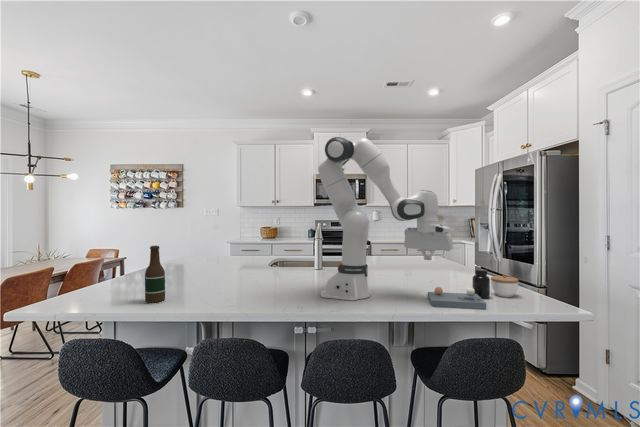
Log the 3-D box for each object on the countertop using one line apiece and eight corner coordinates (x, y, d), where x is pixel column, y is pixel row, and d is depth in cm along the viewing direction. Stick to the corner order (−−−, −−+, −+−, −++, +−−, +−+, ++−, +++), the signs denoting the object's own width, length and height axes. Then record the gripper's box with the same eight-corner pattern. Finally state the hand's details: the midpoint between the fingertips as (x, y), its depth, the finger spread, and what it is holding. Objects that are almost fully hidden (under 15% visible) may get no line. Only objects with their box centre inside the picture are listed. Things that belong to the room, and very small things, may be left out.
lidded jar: (492, 297, 142) (492, 276, 142) (489, 291, 152) (489, 271, 152) (520, 299, 138) (520, 277, 138) (516, 293, 148) (516, 273, 148)
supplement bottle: (492, 299, 138) (491, 271, 138) (474, 298, 139) (474, 271, 139) (487, 295, 145) (486, 268, 145) (470, 294, 146) (470, 268, 146)
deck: (431, 306, 128) (431, 300, 128) (427, 297, 142) (427, 291, 142) (486, 309, 124) (486, 302, 124) (476, 299, 138) (476, 293, 138)
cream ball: (467, 295, 135) (467, 288, 135) (465, 293, 138) (465, 286, 138) (475, 296, 134) (475, 288, 134) (473, 294, 137) (473, 286, 137)
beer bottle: (169, 300, 141) (168, 245, 141) (153, 305, 134) (152, 247, 134) (156, 298, 144) (156, 244, 144) (140, 302, 137) (140, 246, 137)
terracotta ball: (435, 295, 136) (435, 287, 136) (434, 293, 139) (434, 286, 139) (443, 295, 135) (443, 288, 135) (441, 293, 138) (441, 286, 138)
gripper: (401, 227, 144) (402, 258, 144) (449, 228, 131) (450, 262, 131) (407, 227, 149) (407, 257, 149) (453, 228, 136) (454, 260, 136)
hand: (427, 259), depth 140 cm, fingers closed
